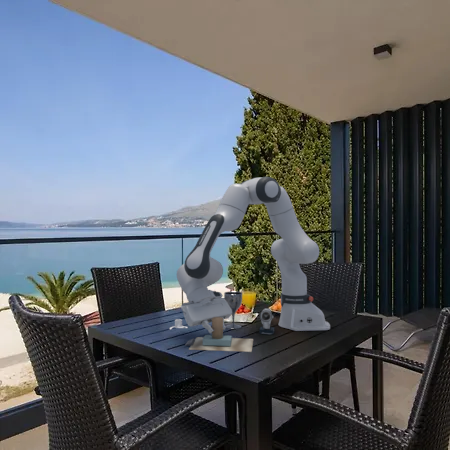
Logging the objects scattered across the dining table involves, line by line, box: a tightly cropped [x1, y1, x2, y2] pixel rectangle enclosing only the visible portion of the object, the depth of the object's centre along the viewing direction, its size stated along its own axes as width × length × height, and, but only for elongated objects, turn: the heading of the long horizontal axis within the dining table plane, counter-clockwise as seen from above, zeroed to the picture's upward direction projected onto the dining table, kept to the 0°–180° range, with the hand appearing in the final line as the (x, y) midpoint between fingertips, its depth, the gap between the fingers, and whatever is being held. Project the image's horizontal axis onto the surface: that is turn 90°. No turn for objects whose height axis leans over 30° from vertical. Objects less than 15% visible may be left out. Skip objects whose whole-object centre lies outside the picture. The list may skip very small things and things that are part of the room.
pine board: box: [188, 336, 254, 353], centre depth 139 cm, size 22×15×2 cm
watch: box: [259, 308, 275, 335], centre depth 154 cm, size 6×8×11 cm
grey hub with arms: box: [169, 318, 189, 330], centre depth 166 cm, size 9×8×4 cm
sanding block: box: [203, 317, 233, 346], centre depth 139 cm, size 10×6×9 cm, turn 85°
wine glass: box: [223, 290, 243, 330], centre depth 169 cm, size 8×8×15 cm
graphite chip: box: [184, 338, 196, 347], centre depth 140 cm, size 4×5×1 cm
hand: (218, 330), depth 139 cm, fingers closed on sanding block, 4 cm apart
